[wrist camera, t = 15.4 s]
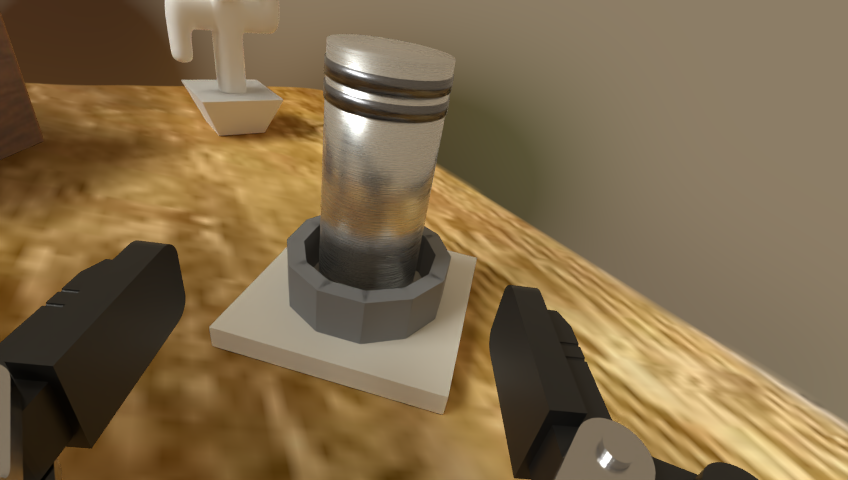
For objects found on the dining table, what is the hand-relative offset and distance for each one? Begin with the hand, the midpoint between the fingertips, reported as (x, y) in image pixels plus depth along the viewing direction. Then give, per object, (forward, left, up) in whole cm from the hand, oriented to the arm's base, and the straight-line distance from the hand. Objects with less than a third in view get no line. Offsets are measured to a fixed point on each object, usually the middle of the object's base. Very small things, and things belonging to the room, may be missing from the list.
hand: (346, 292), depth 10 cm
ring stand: (-2, +9, -9) cm, 13 cm away
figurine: (-23, +29, -9) cm, 39 cm away
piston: (-2, +9, -8) cm, 12 cm away
